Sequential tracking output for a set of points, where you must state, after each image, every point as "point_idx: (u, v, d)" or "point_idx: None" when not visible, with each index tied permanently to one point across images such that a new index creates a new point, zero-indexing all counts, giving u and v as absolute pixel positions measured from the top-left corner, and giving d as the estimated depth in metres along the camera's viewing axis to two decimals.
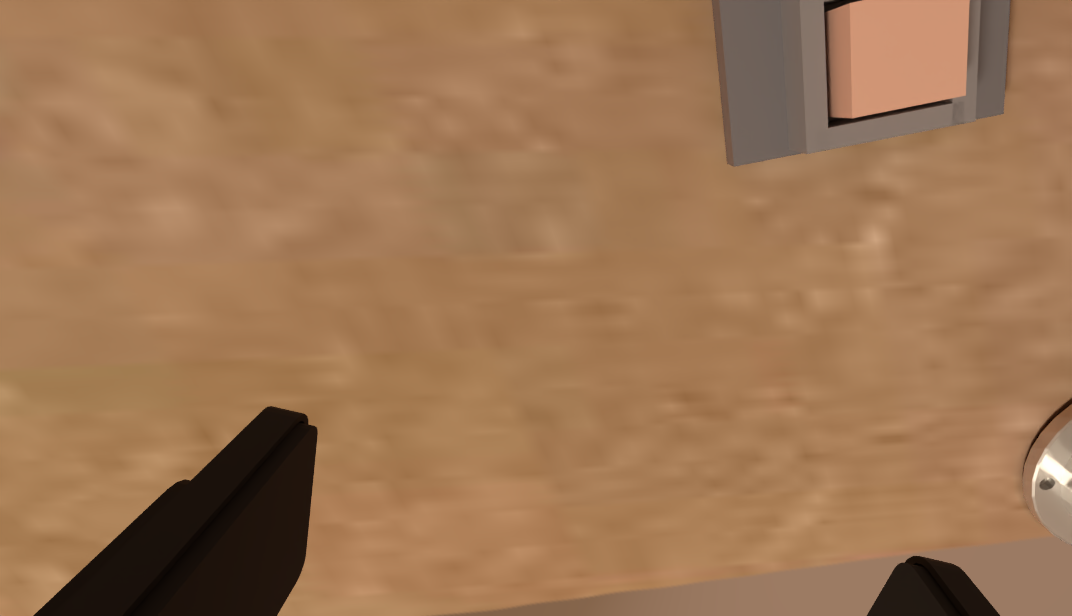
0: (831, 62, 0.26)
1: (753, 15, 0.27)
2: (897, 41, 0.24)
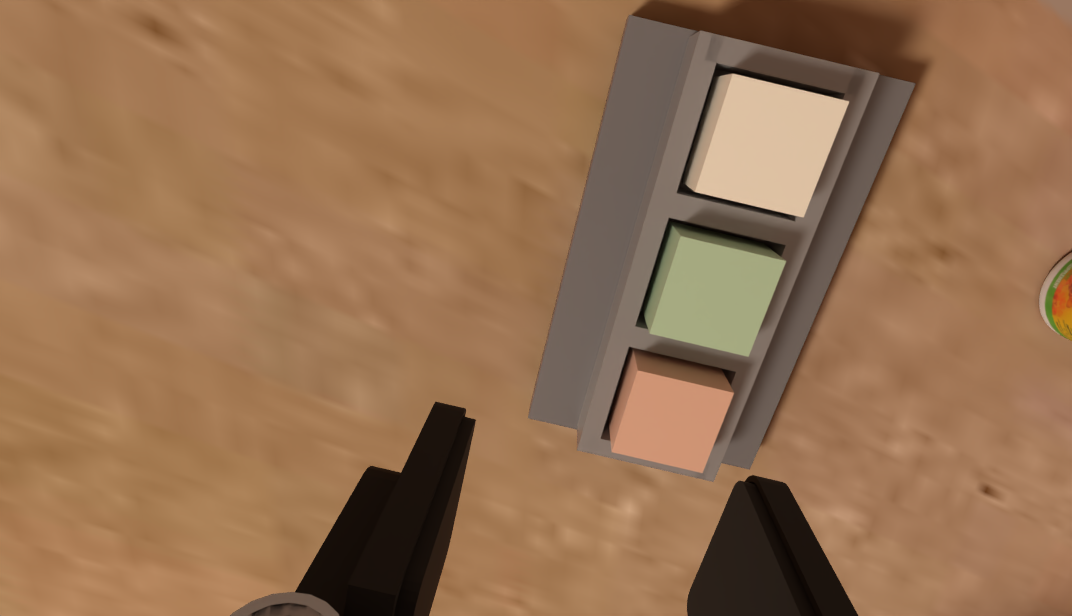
0: (622, 390, 0.29)
1: (584, 313, 0.30)
2: (665, 413, 0.27)
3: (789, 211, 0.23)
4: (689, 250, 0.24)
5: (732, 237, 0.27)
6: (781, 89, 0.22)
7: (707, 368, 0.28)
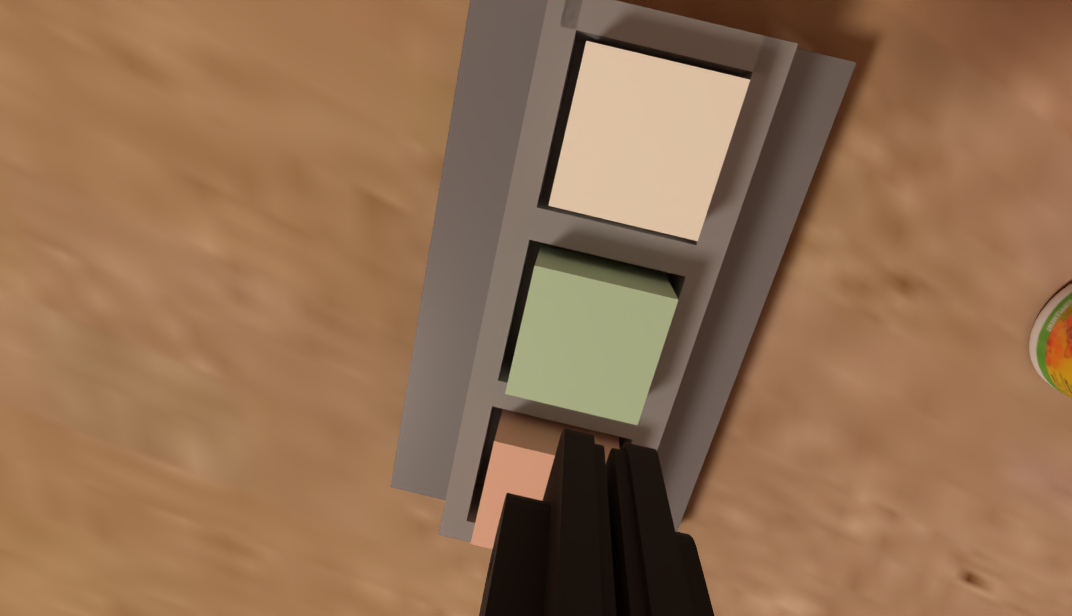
0: None
1: (448, 358, 0.23)
2: (534, 496, 0.20)
3: (678, 232, 0.17)
4: (547, 284, 0.18)
5: (622, 265, 0.20)
6: (654, 62, 0.15)
7: (598, 433, 0.22)
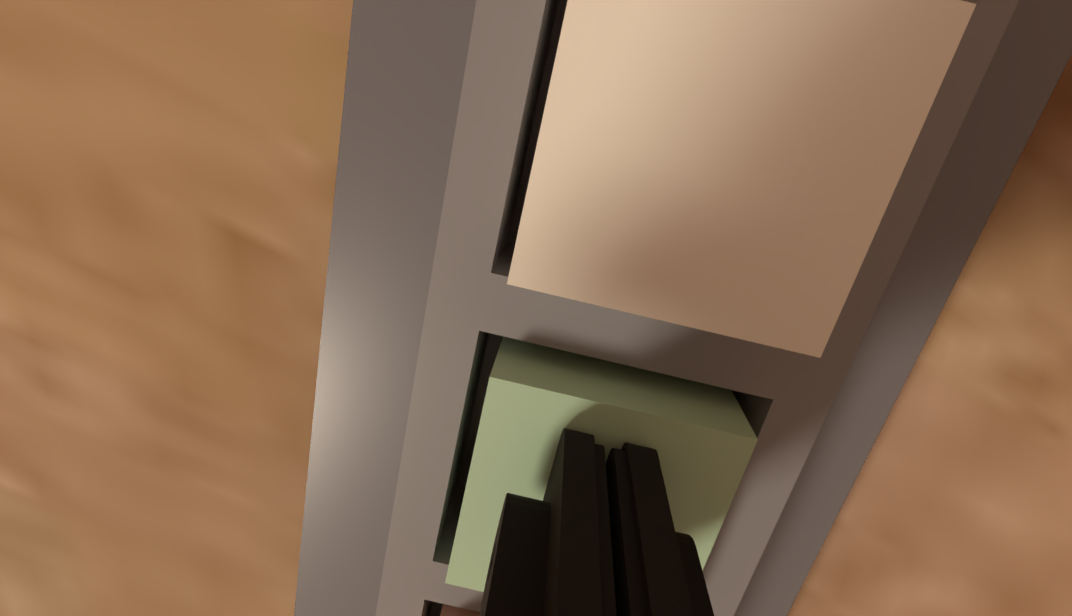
0: None
1: (365, 492, 0.15)
2: None
3: (779, 340, 0.08)
4: (515, 410, 0.10)
5: None
6: None
7: None
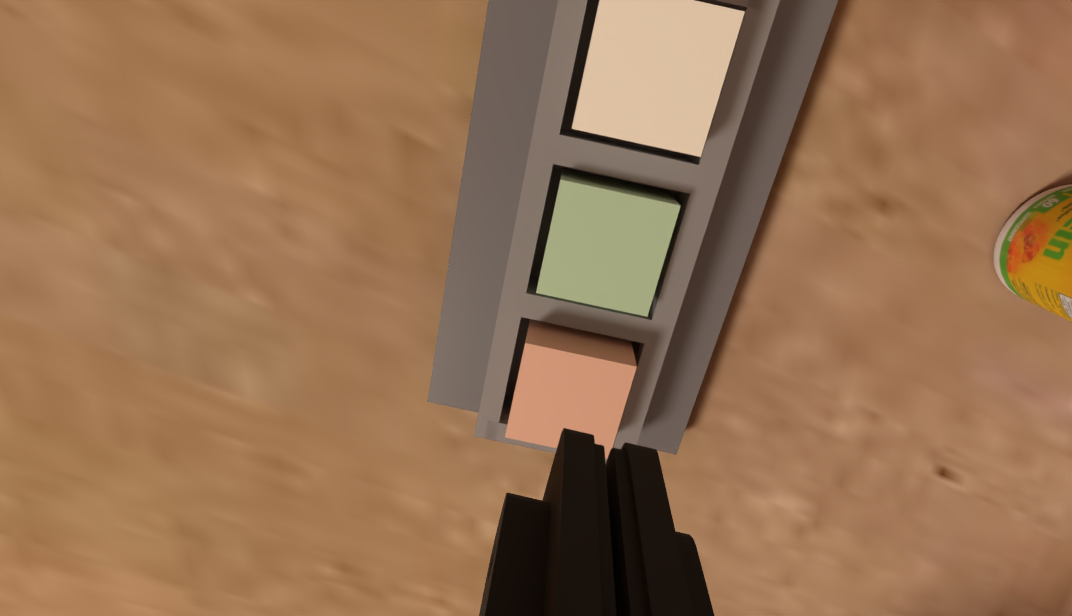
0: None
1: (479, 281, 0.26)
2: (560, 392, 0.23)
3: (684, 149, 0.20)
4: (571, 196, 0.21)
5: (631, 184, 0.24)
6: None
7: (614, 340, 0.25)
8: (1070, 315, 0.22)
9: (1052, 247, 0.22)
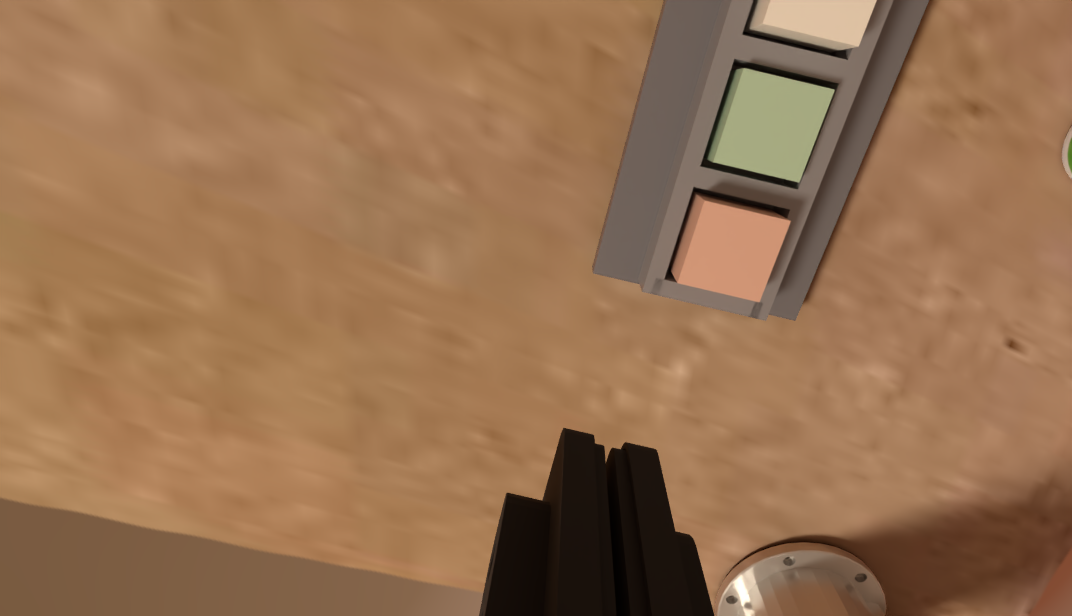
0: (685, 232, 0.32)
1: (648, 167, 0.33)
2: (727, 243, 0.30)
3: (846, 41, 0.26)
4: (750, 81, 0.28)
5: None
6: None
7: (763, 210, 0.31)
8: None
9: None
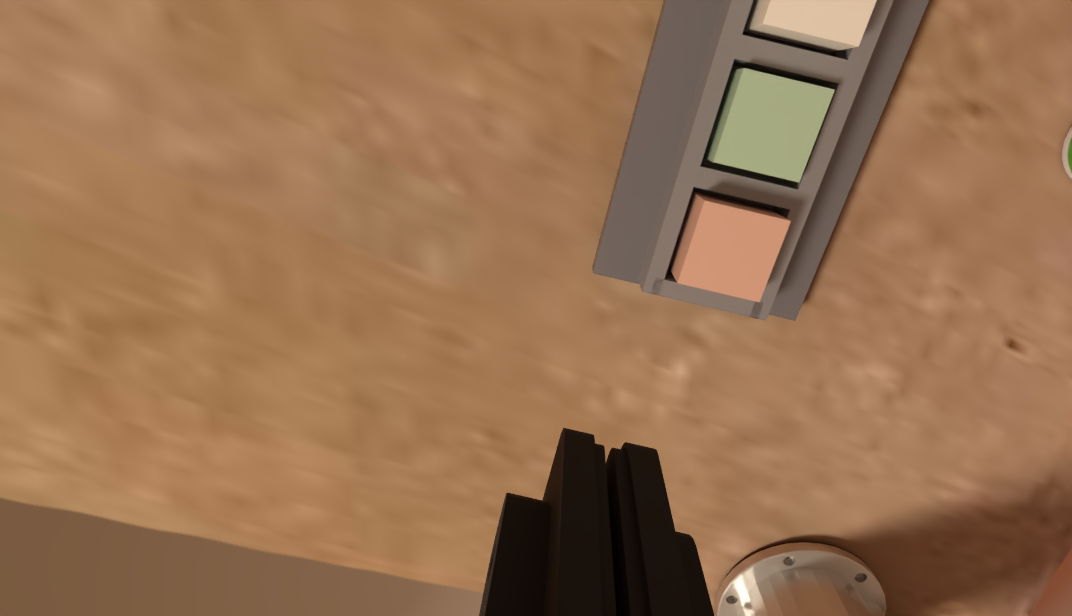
0: (685, 232, 0.32)
1: (648, 167, 0.33)
2: (727, 243, 0.30)
3: (846, 40, 0.26)
4: (751, 81, 0.28)
5: None
6: None
7: (763, 210, 0.31)
8: None
9: None
